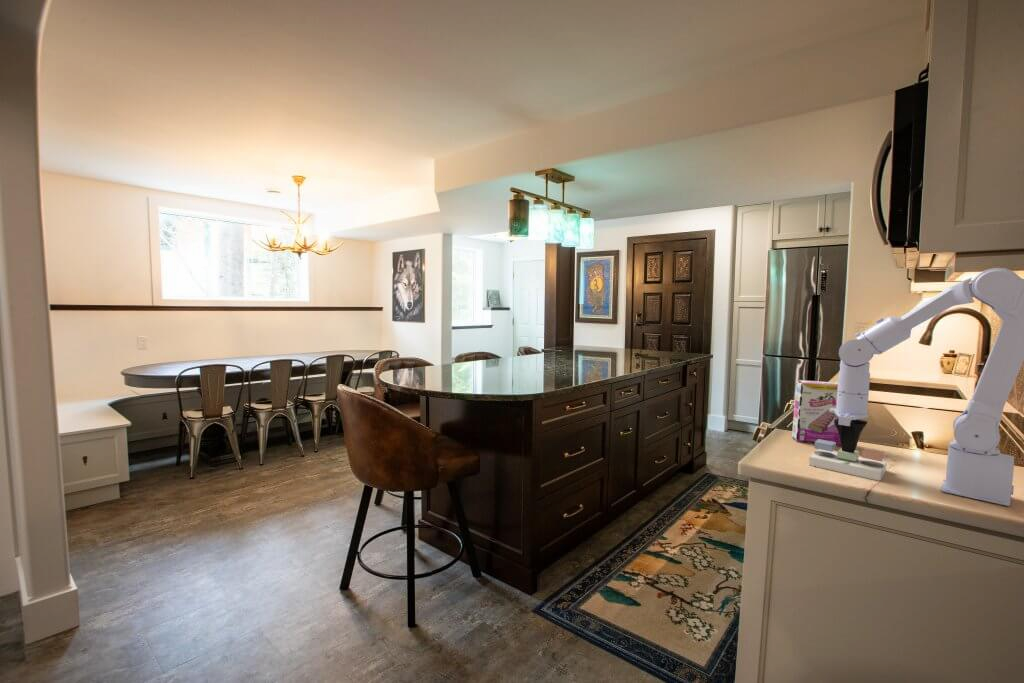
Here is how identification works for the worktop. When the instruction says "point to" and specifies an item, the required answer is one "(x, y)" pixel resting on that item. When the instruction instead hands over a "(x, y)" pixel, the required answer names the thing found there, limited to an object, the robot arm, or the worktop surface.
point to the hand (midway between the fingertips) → (848, 451)
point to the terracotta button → (873, 454)
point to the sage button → (848, 455)
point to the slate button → (825, 445)
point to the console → (848, 465)
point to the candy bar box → (815, 412)
